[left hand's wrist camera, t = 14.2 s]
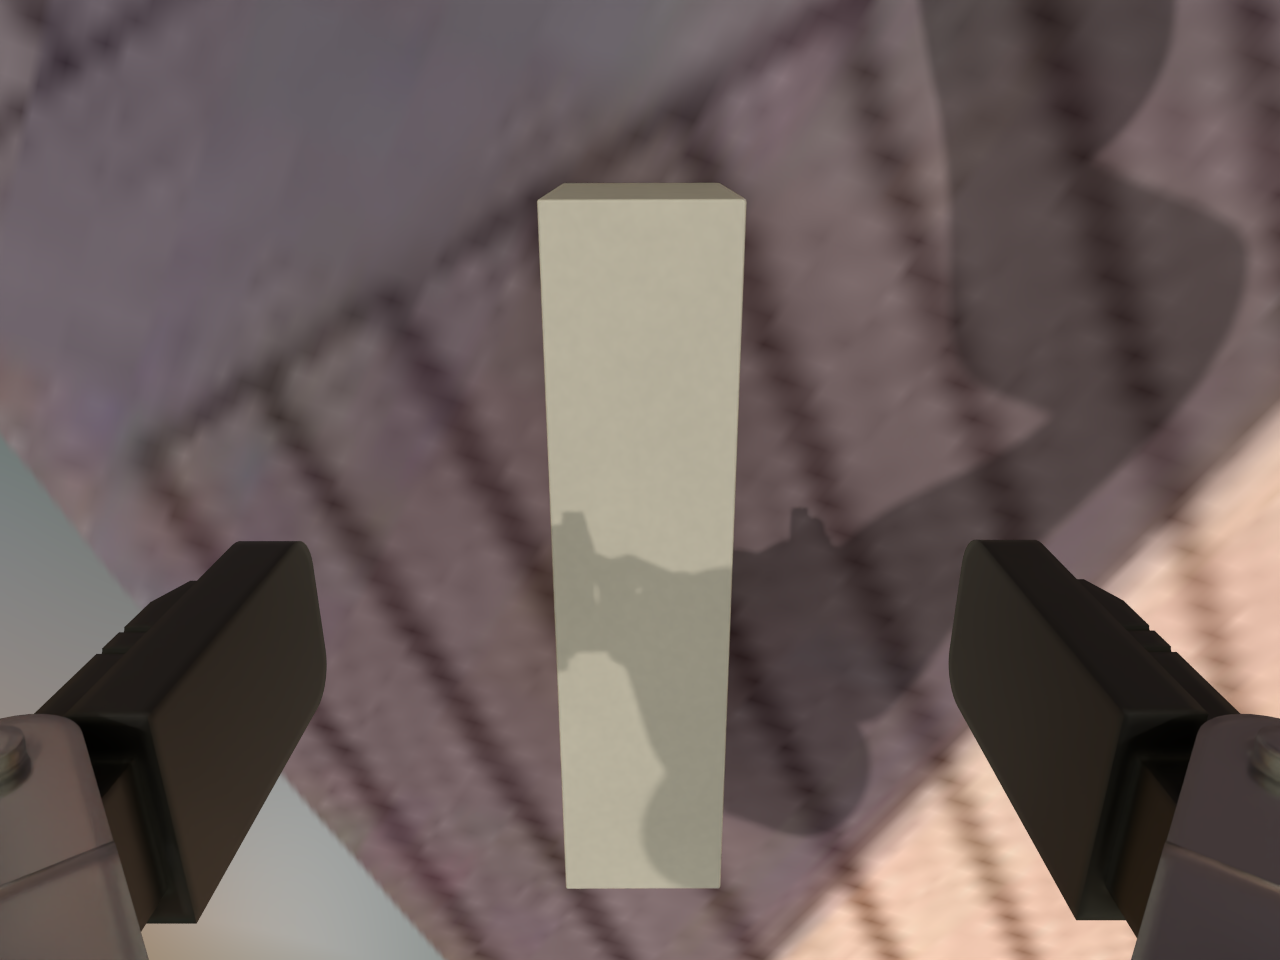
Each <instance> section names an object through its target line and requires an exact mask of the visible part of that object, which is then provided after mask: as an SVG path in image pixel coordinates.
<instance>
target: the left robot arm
mask: <svg viewBox="0 0 1280 960" xmlns="http://www.w3.org/2000/svg"><path fill="white" fill-rule="evenodd" d="M326 666H327V663H326V650H325V643H324V637H323V630H322V623H321V616H320V609H319V603H318V596H317V589H316V582H315V575H314V569H313V562H312V558H311V554H310V552H309V549H308V547H307V546H306V545H305V544H304V543H303V542H301V541H238V542H236V543H234V544H233V545H232V546H231V547H230V548H229V549H228V550H227V551H226V552H225V553H224V554H223V555H222V556H221V557H220V558H219V559H218V560H217V561H216V562H215V563H214V564H213V565H212V566H211V567H210V568H209V569H208V570H207V571H206V572H205V573H204V574H203V575H202V576H201V577H200V578H199V579H198V580H197V581H189V582H187V583H185V584H184V585H182V586H180V587H178V588H176V589H174V590H172V591H171V592H169V593H167V594H165V595H163V596H161V597H159V598H158V599H156V600H154V601H152V602H150V603H149V604H148V605H147V606H146V607H145V608H144V609H143V610H142V611H141V612H140V613H139V614H138V615H137V616H136V617H135V618H134V619H133V620H132V621H130V622H129V623H128V624H127V625H126V626H125V627H124V632H119V633H118V634H117V635H116V636H115V637H114V638H113V639H112V640H111V641H110V642H109V643H107V644H106V645H105V646H104V647H103V648H102V654H96V655H95V656H94V657H93V658H92V659H91V660H90V661H89V662H88V663H87V664H86V665H85V666H84V667H82V668H81V669H80V670H79V671H78V672H77V673H76V674H75V675H74V676H73V677H72V678H71V679H70V680H69V681H68V682H67V683H66V684H65V685H64V686H63V687H62V688H61V689H59V690H58V691H57V692H56V693H55V694H54V695H53V696H52V697H51V698H50V699H49V700H48V701H47V702H46V703H45V704H44V705H43V706H42V707H41V708H40V709H39V710H38V711H37V712H36V713H34V714H27V715H18V716H11V717H6V718H1V719H0V960H149V959H148V955H147V952H146V948H145V945H144V941H143V938H142V934H141V931H142V929H143V928H144V926H145V925H146V923H197V922H198V920H199V918H200V916H201V915H202V913H203V911H204V909H205V908H206V906H207V904H208V902H209V900H210V899H211V897H212V895H213V893H214V891H215V890H216V888H217V886H218V884H219V882H220V881H221V879H222V877H223V875H224V874H225V872H226V870H227V868H228V866H229V865H230V863H231V861H232V859H233V858H234V856H235V854H236V852H237V851H238V849H239V847H240V845H241V843H242V842H243V840H244V838H245V836H246V834H247V833H248V831H249V829H250V827H251V825H252V824H253V822H254V820H255V818H256V817H257V815H258V813H259V811H260V809H261V808H262V806H263V804H264V802H265V801H266V799H267V797H268V795H269V793H270V792H271V790H272V788H273V786H274V785H275V783H276V781H277V779H278V777H279V776H280V774H281V772H282V770H283V769H284V767H285V765H286V763H287V761H288V760H289V758H290V756H291V754H292V753H293V751H294V749H295V747H296V745H297V744H298V742H299V740H300V738H301V736H302V735H303V733H304V731H305V729H306V728H307V726H308V724H309V722H310V720H311V719H312V717H313V715H314V713H315V712H316V710H317V708H318V706H319V704H320V701H321V698H322V695H323V691H324V686H325V680H326ZM949 677H950V684H951V689H952V693H953V696H954V699H955V702H956V704H957V706H958V708H959V710H960V711H961V713H962V715H963V717H964V719H965V720H966V722H967V724H968V726H969V728H970V729H971V731H972V733H973V735H974V737H975V738H976V740H977V742H978V744H979V746H980V747H981V749H982V751H983V753H984V755H985V757H986V758H987V760H988V762H989V764H990V766H991V767H992V769H993V771H994V773H995V775H996V776H997V778H998V780H999V782H1000V784H1001V785H1002V787H1003V789H1004V791H1005V793H1006V794H1007V796H1008V798H1009V800H1010V802H1011V803H1012V805H1013V807H1014V809H1015V811H1016V812H1017V814H1018V816H1019V818H1020V820H1021V821H1022V823H1023V825H1024V827H1025V829H1026V830H1027V832H1028V834H1029V836H1030V838H1031V839H1032V841H1033V843H1034V845H1035V847H1036V848H1037V850H1038V852H1039V854H1040V856H1041V858H1042V859H1043V861H1044V863H1045V865H1046V867H1047V868H1048V870H1049V872H1050V874H1051V876H1052V877H1053V879H1054V881H1055V883H1056V885H1057V886H1058V888H1059V890H1060V892H1061V894H1062V895H1063V897H1064V899H1065V901H1066V903H1067V904H1068V906H1069V908H1070V910H1071V912H1072V913H1073V915H1074V917H1075V919H1076V920H1126V921H1127V923H1128V924H1129V926H1130V927H1131V929H1132V931H1133V932H1134V934H1135V936H1136V937H1137V941H1136V945H1135V948H1134V952H1133V955H1132V959H1131V960H1280V719H1279V718H1274V717H1269V716H1262V715H1254V714H1240V713H1239V712H1238V711H1237V710H1236V709H1235V708H1234V707H1233V706H1232V705H1231V704H1230V703H1229V702H1228V701H1227V700H1226V699H1225V698H1224V697H1223V696H1222V695H1220V694H1219V693H1218V692H1217V691H1216V690H1215V689H1214V688H1213V687H1212V686H1211V685H1210V684H1209V683H1208V682H1207V681H1206V680H1205V679H1204V678H1203V677H1202V676H1201V675H1200V674H1199V673H1198V672H1197V671H1196V670H1195V669H1194V668H1193V667H1192V666H1190V665H1189V664H1188V663H1187V662H1186V661H1185V660H1184V659H1183V658H1182V657H1181V656H1180V655H1179V654H1178V653H1177V652H1171V646H1170V645H1169V644H1168V643H1167V642H1166V641H1165V640H1164V639H1163V638H1162V637H1160V636H1159V635H1158V634H1157V633H1156V632H1155V631H1150V630H1149V625H1148V624H1147V623H1146V622H1145V621H1144V620H1143V619H1142V618H1141V617H1140V616H1139V615H1138V614H1137V613H1136V612H1135V611H1134V610H1133V609H1132V608H1130V607H1129V606H1128V605H1127V604H1126V603H1125V602H1124V601H1123V600H1121V599H1119V598H1118V597H1116V596H1114V595H1112V594H1110V593H1108V592H1106V591H1105V590H1103V589H1101V588H1099V587H1097V586H1095V585H1093V584H1092V583H1090V582H1088V581H1086V580H1084V579H1076V578H1075V577H1074V576H1073V575H1072V574H1071V573H1070V572H1069V571H1068V570H1067V569H1066V568H1065V567H1064V566H1063V565H1062V564H1061V563H1060V562H1059V561H1058V560H1057V559H1056V557H1055V556H1054V555H1053V554H1052V553H1051V552H1050V551H1049V550H1048V549H1047V548H1046V547H1045V546H1044V545H1043V544H1042V543H1040V542H1039V541H1037V540H973V541H971V542H970V543H969V544H968V546H967V548H966V550H965V553H964V556H963V561H962V567H961V574H960V581H959V588H958V595H957V602H956V609H955V616H954V623H953V630H952V637H951V643H950V651H949Z"/></svg>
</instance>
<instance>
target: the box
mask: <svg viewBox="0 0 1280 960" xmlns="http://www.w3.org/2000/svg"><path fill="white" fill-rule="evenodd" d="M537 208H538V232H539V256H540V279H541V303H542V327H543V350H544V374H545V398H546V421H547V445H548V468H549V492H550V516H551V539H552V563H553V587H554V610H555V634H556V657H557V681H558V705H559V728H560V752H561V776H562V799H563V823H564V847H565V870H566V887H567V888H720V877H721V851H722V825H723V799H724V773H725V747H726V721H727V694H728V668H729V642H730V616H731V590H732V564H733V538H734V512H735V486H736V460H737V434H738V408H739V382H740V356H741V330H742V304H743V278H744V252H745V226H746V199H744V198H743V197H741V196H739V195H738V194H736V193H735V192H733V191H731V190H730V189H728V188H726V187H725V186H723V185H722V184H720V183H564V184H562V185H560V186H559V187H557V188H556V189H554V190H553V191H551V192H549V193H548V194H546V195H545V196H543V197H542V198H540V199H539V200H538V201H537Z"/></svg>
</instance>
